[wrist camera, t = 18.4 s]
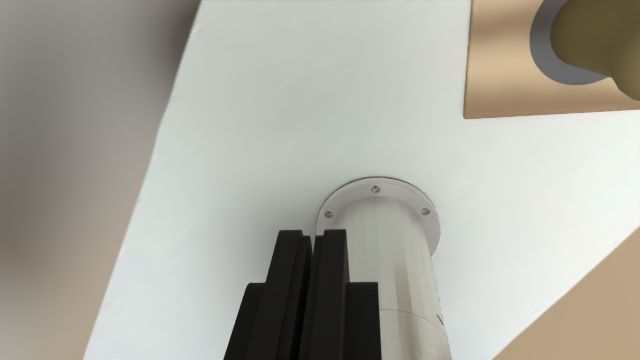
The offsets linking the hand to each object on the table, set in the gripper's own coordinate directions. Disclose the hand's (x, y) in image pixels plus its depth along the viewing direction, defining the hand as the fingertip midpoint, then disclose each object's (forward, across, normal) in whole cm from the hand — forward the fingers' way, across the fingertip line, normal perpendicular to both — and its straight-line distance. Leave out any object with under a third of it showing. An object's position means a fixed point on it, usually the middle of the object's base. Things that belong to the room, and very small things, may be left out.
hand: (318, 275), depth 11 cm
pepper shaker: (+28, -19, +1) cm, 34 cm away
